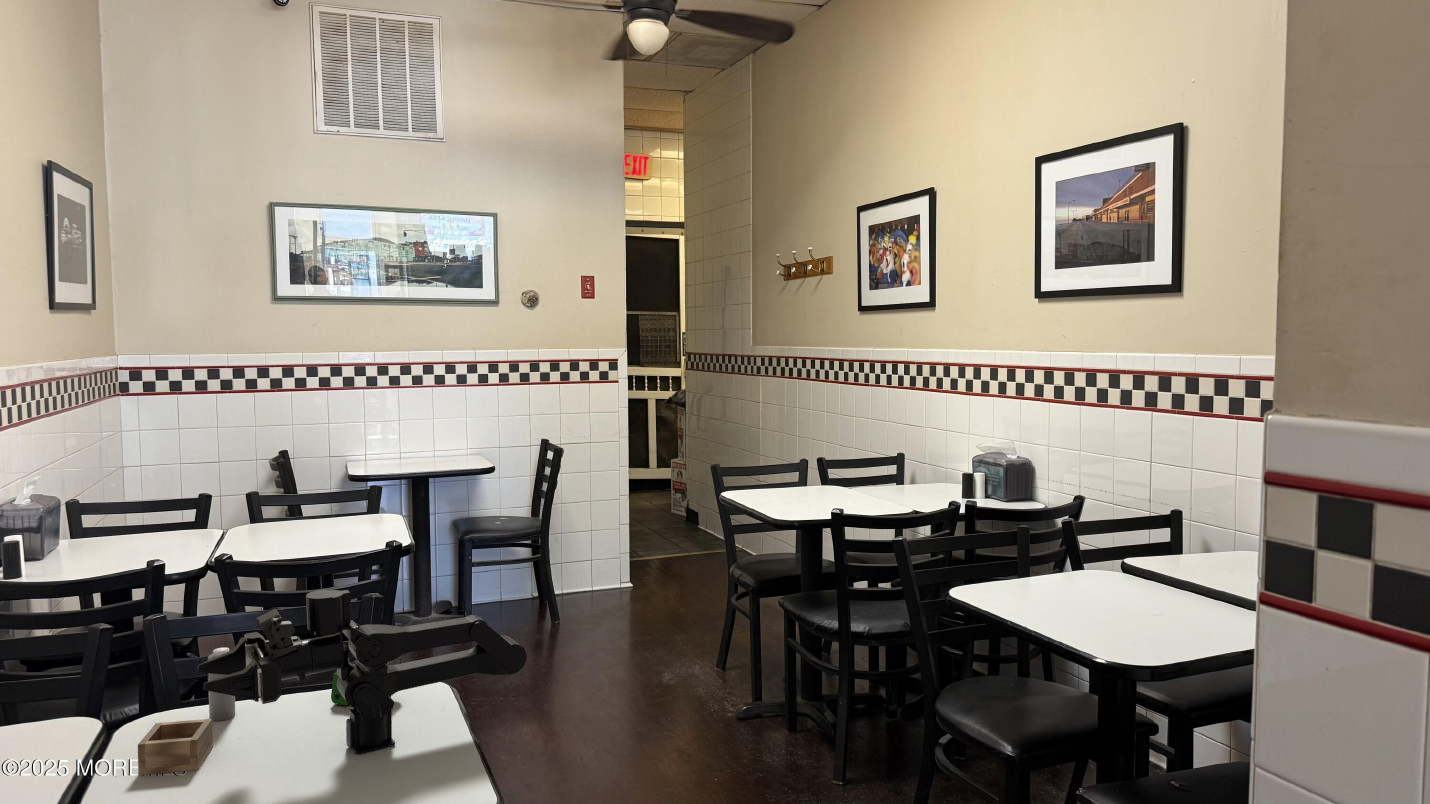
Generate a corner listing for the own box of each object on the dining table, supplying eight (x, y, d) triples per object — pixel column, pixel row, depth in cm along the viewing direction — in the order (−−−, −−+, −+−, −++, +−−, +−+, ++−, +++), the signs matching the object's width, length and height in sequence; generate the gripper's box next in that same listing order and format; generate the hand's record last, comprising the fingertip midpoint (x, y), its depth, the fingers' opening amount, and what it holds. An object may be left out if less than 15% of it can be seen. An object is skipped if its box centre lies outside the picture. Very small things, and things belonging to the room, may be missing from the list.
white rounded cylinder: (233, 710, 172) (232, 644, 171) (237, 717, 168) (235, 650, 167) (207, 715, 169) (206, 648, 168) (211, 723, 166) (209, 655, 165)
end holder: (212, 747, 156) (212, 718, 155) (197, 769, 148) (197, 739, 147) (156, 752, 154) (156, 722, 153) (138, 775, 145) (137, 744, 145)
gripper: (296, 595, 159) (192, 611, 150) (318, 623, 143) (204, 643, 134) (298, 658, 159) (195, 678, 151) (321, 693, 144) (208, 717, 135)
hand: (200, 677), depth 143 cm, fingers open, 9 cm apart
